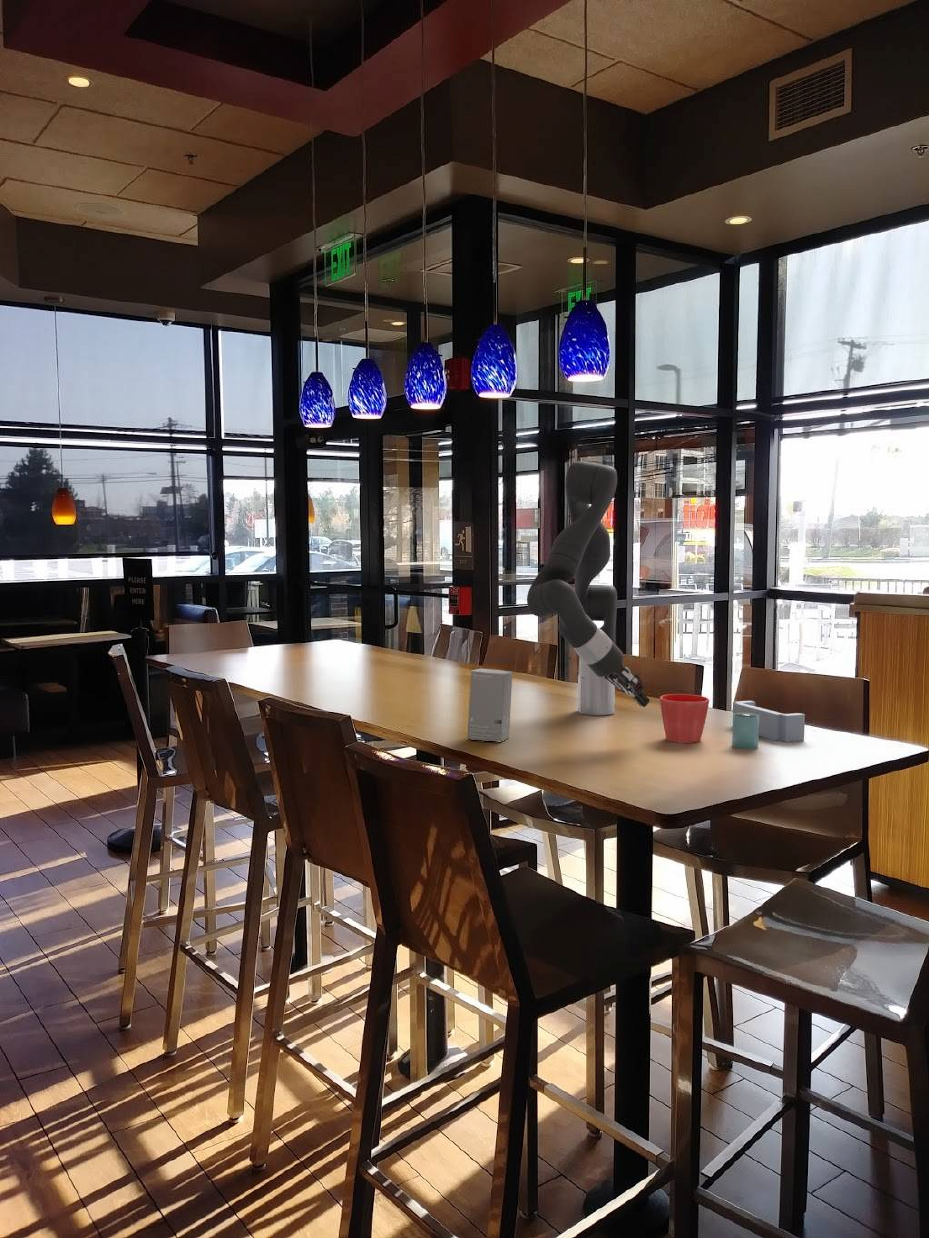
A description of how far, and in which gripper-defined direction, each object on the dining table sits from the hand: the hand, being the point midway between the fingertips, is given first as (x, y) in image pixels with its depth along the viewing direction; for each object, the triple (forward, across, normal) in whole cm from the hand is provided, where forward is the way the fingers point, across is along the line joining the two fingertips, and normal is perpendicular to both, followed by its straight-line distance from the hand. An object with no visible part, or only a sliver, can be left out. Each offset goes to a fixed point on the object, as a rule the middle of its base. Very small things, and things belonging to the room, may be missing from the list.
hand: (645, 703), depth 224 cm
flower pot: (+14, 0, -1) cm, 14 cm away
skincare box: (-16, +15, +28) cm, 36 cm away
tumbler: (+20, -10, -7) cm, 23 cm away
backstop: (+29, 0, -17) cm, 34 cm away
